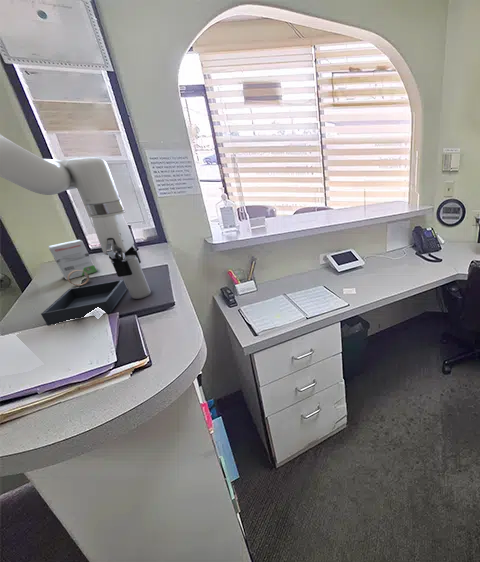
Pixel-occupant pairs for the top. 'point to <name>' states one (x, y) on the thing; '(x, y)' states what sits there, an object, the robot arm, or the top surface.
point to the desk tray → (85, 301)
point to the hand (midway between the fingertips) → (130, 269)
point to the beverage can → (136, 279)
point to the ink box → (72, 258)
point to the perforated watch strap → (84, 274)
